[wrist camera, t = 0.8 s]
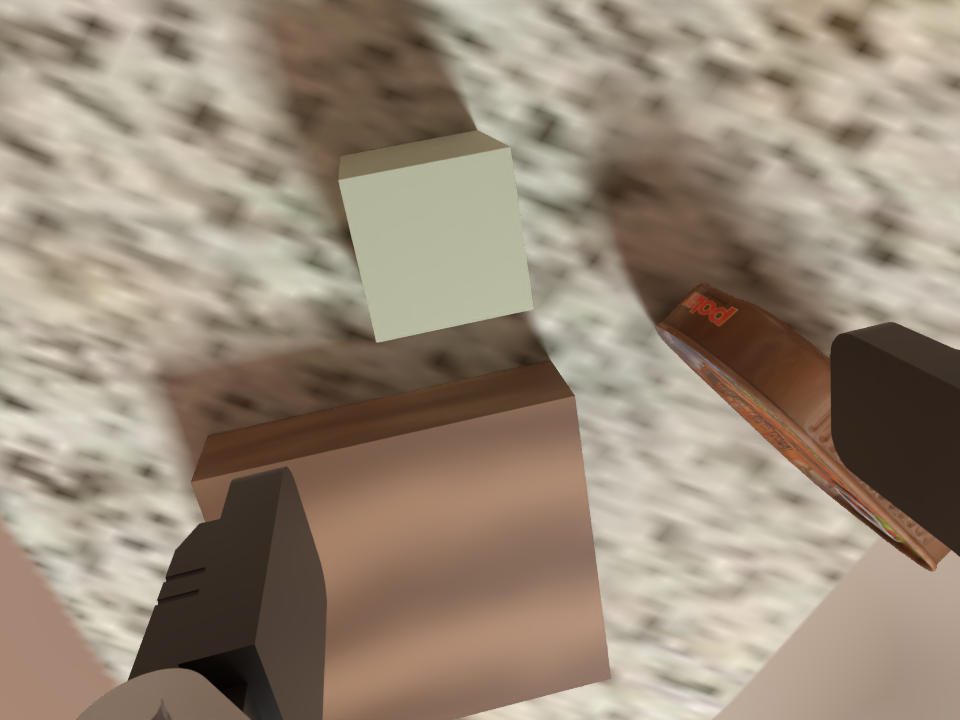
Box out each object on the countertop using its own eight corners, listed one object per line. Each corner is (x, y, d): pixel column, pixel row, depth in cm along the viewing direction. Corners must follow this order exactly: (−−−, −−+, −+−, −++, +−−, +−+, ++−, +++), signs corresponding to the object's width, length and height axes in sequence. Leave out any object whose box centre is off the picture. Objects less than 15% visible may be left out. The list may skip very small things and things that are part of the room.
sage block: (340, 155, 27) (337, 180, 21) (477, 130, 27) (510, 146, 22) (371, 288, 29) (376, 343, 23) (498, 262, 29) (533, 309, 23)
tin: (623, 304, 31) (717, 386, 23) (679, 246, 30) (794, 310, 22) (828, 498, 36) (960, 617, 28) (878, 452, 35) (1026, 561, 28)
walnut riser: (210, 430, 30) (191, 482, 26) (547, 356, 31) (575, 395, 28) (299, 688, 35) (294, 760, 32) (584, 616, 37) (610, 678, 33)
